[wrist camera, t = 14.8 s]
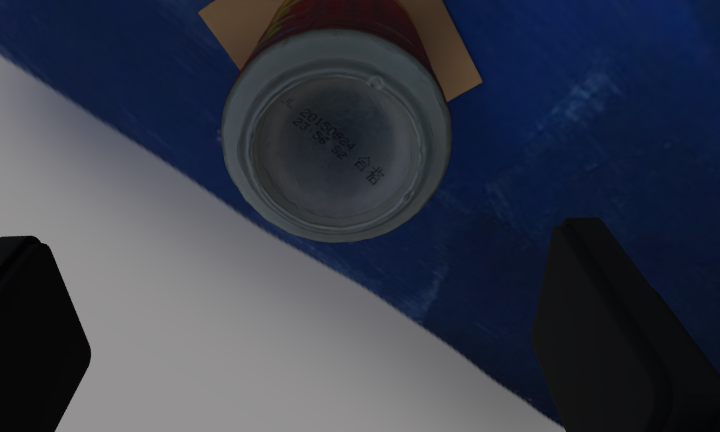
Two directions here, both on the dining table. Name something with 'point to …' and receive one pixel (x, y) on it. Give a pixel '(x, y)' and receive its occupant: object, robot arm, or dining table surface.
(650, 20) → the dining table surface
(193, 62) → the dining table surface
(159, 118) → the dining table surface
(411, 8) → the cork mat
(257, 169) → the soda can
